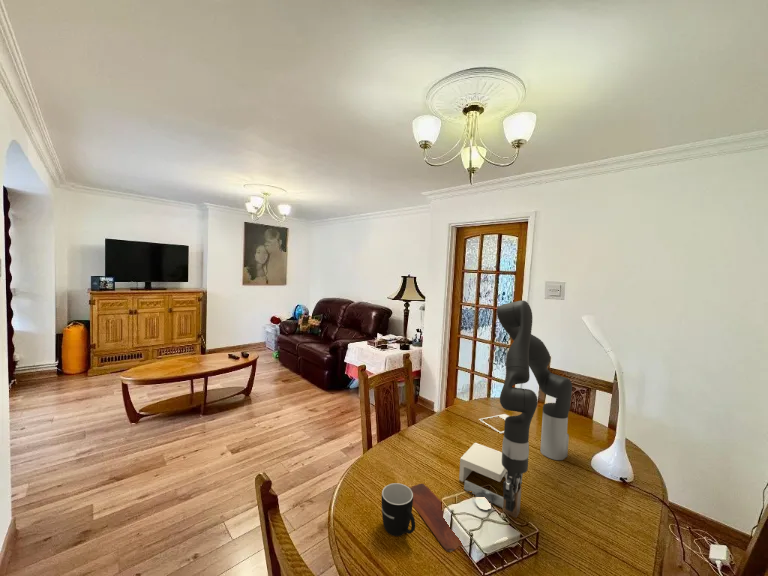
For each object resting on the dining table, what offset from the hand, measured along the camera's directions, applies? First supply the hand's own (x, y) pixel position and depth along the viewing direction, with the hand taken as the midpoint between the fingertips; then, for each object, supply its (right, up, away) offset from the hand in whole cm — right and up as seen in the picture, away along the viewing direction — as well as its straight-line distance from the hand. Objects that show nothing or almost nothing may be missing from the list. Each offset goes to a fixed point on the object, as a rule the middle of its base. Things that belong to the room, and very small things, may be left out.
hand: (512, 504), depth 98 cm
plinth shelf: (-3, -1, +16) cm, 16 cm away
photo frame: (+20, -1, +60) cm, 63 cm away
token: (-8, -2, +3) cm, 9 cm away
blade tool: (-5, -2, +4) cm, 7 cm away
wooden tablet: (-24, -2, -2) cm, 24 cm away
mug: (-36, -1, -9) cm, 37 cm away
